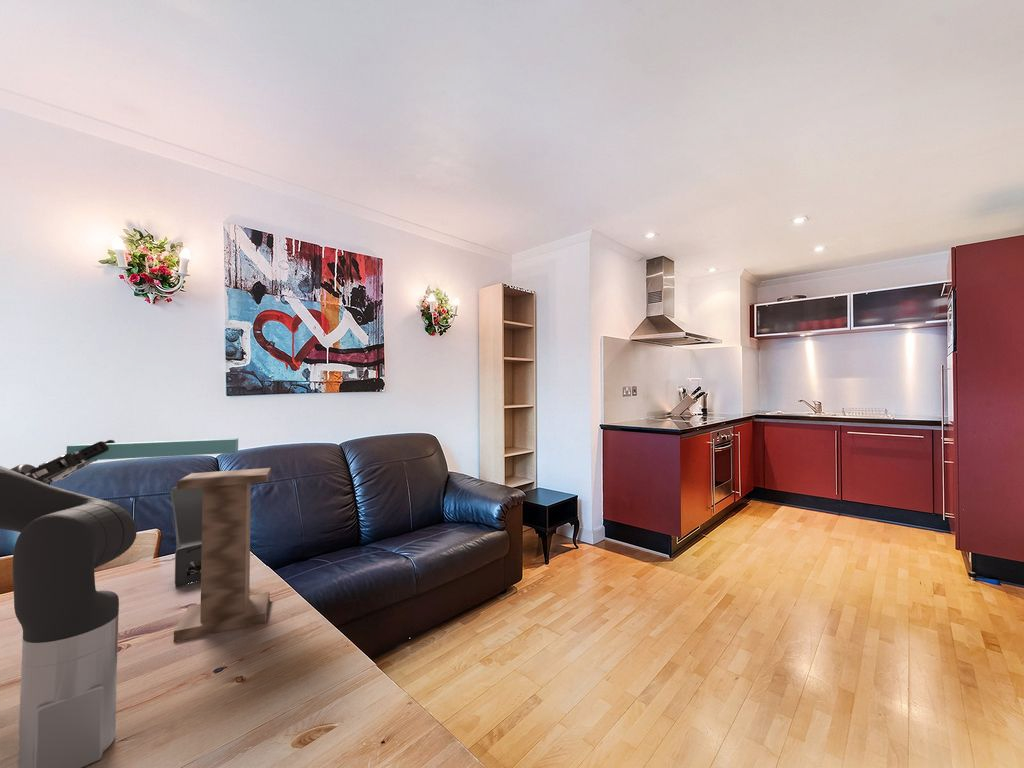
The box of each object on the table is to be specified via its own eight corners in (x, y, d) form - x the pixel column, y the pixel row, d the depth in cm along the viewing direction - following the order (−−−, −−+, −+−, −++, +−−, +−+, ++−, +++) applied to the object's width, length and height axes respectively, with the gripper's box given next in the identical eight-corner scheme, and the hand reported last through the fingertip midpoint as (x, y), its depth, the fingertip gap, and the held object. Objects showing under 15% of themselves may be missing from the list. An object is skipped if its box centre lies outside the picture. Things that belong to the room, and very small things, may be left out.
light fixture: (207, 561, 131) (209, 481, 132) (224, 575, 119) (225, 488, 120) (162, 571, 123) (164, 486, 124) (175, 588, 111) (177, 494, 112)
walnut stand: (173, 641, 86) (177, 481, 87) (188, 615, 96) (191, 473, 98) (265, 622, 93) (266, 474, 94) (269, 600, 103) (270, 467, 105)
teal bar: (66, 461, 83) (66, 446, 83) (76, 459, 87) (76, 444, 87) (235, 452, 95) (235, 439, 95) (238, 451, 99) (238, 438, 99)
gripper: (-34, 482, 74) (82, 430, 81) (16, 471, 86) (113, 427, 93) (-5, 518, 75) (107, 463, 82) (40, 502, 88) (134, 455, 95)
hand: (110, 444), depth 88 cm, fingers closed on teal bar, 4 cm apart
